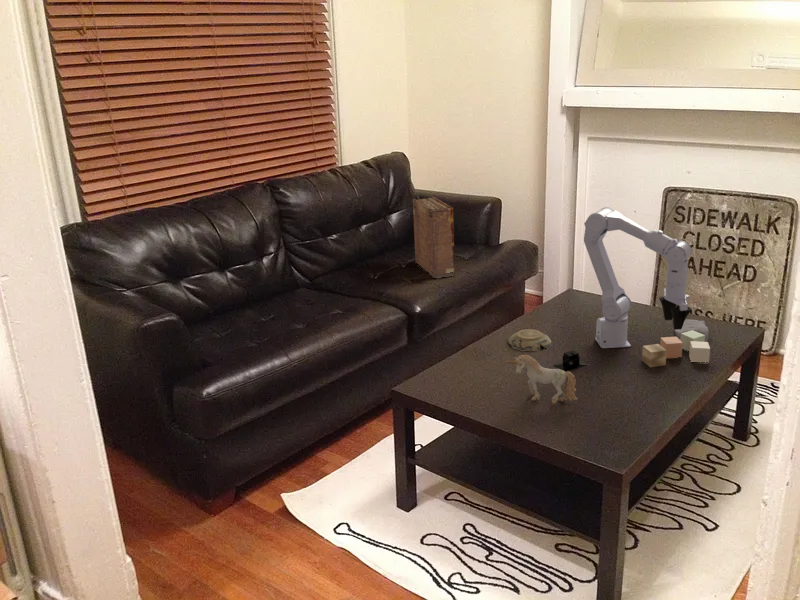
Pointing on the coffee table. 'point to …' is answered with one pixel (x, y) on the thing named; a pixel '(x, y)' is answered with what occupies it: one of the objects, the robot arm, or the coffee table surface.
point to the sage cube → (691, 338)
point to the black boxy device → (571, 361)
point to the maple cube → (654, 355)
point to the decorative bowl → (529, 340)
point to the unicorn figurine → (546, 378)
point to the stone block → (693, 328)
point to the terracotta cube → (672, 346)
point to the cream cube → (699, 351)
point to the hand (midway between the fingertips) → (672, 324)
